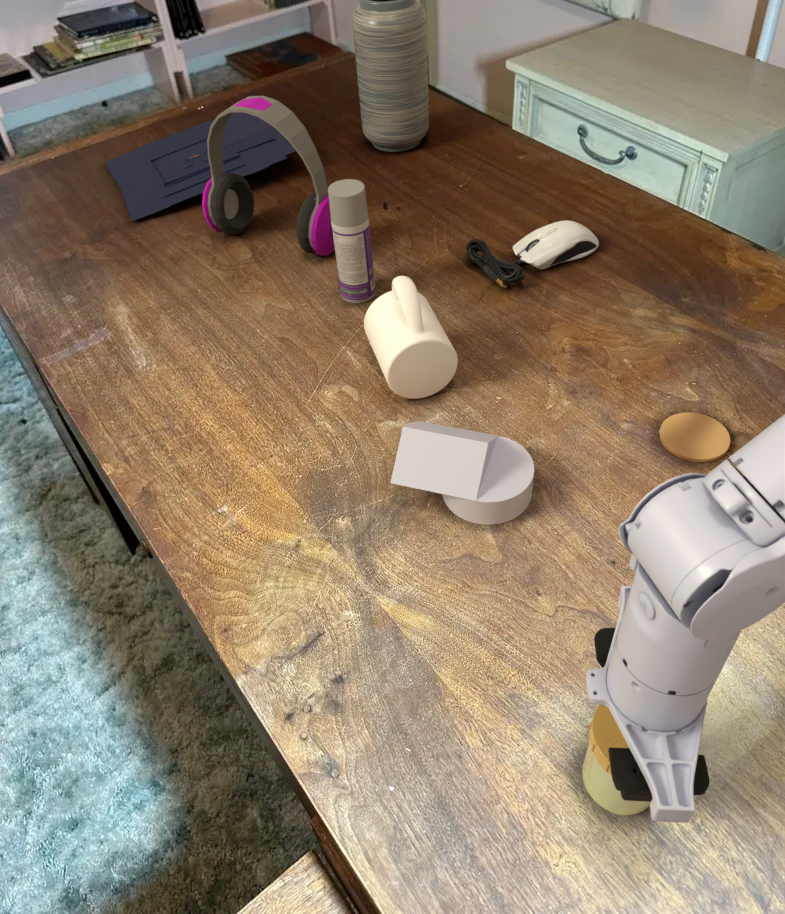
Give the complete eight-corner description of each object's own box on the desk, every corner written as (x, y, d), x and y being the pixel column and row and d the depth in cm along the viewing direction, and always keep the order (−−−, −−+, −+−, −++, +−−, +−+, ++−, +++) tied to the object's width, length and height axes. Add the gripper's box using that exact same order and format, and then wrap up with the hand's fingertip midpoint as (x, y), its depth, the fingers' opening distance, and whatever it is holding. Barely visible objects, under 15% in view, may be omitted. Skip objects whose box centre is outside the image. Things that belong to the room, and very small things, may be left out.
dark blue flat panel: (311, 168, 126) (305, 147, 123) (139, 237, 121) (129, 217, 118) (264, 116, 142) (258, 97, 139) (111, 176, 137) (101, 157, 134)
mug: (389, 406, 86) (381, 320, 78) (366, 353, 93) (357, 267, 85) (458, 390, 88) (458, 303, 79) (430, 338, 95) (427, 252, 86)
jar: (656, 748, 58) (675, 704, 53) (658, 822, 54) (680, 782, 49) (583, 736, 59) (595, 691, 54) (580, 808, 55) (593, 767, 50)
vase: (350, 147, 133) (334, -1, 117) (390, 122, 140) (380, -22, 123) (403, 162, 128) (394, 9, 112) (442, 135, 134) (440, -13, 118)
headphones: (354, 239, 112) (338, 99, 98) (323, 270, 107) (302, 127, 92) (238, 214, 119) (208, 80, 105) (204, 241, 114) (168, 105, 100)
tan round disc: (726, 418, 82) (727, 415, 81) (732, 466, 77) (733, 462, 77) (658, 412, 83) (658, 409, 83) (660, 458, 78) (661, 455, 78)
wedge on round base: (392, 505, 76) (521, 533, 73) (387, 459, 72) (525, 486, 68) (419, 443, 82) (539, 466, 79) (416, 396, 77) (544, 419, 74)
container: (356, 279, 105) (344, 175, 94) (382, 290, 102) (373, 184, 92) (333, 296, 102) (318, 190, 91) (360, 307, 100) (347, 200, 89)
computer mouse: (614, 254, 105) (618, 228, 102) (502, 296, 100) (504, 270, 97) (570, 223, 111) (572, 197, 108) (462, 261, 106) (462, 235, 103)
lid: (669, 703, 54) (674, 692, 53) (685, 788, 50) (690, 778, 49) (585, 700, 54) (587, 689, 53) (594, 784, 50) (597, 774, 49)
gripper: (583, 544, 49) (562, 652, 58) (613, 775, 39) (582, 858, 48) (698, 546, 48) (657, 655, 58) (758, 781, 38) (697, 864, 48)
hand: (630, 748), depth 53 cm, fingers closed on lid, 6 cm apart
